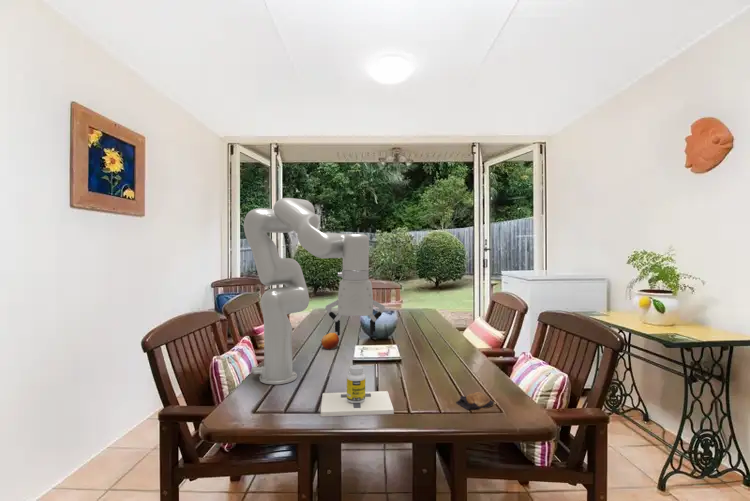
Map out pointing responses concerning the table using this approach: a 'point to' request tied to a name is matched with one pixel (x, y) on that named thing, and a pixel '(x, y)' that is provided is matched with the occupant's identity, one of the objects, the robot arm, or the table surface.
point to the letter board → (356, 404)
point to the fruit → (330, 341)
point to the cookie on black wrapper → (475, 401)
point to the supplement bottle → (356, 384)
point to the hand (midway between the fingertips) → (355, 334)
